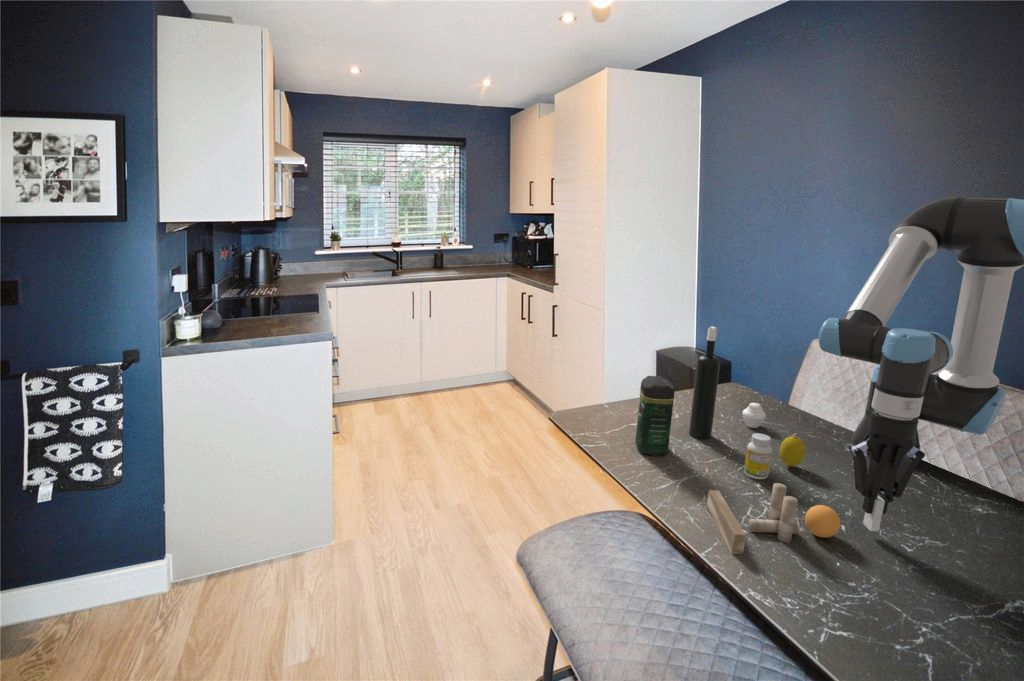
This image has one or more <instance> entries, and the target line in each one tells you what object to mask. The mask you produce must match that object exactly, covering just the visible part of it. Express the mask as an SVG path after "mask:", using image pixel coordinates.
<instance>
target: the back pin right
mask: <svg viewBox="0 0 1024 681" xmlns="http://www.w3.org/2000/svg"><path fill="white" fill-rule="evenodd" d="M787 489H788V487H787V485H786V484H783V483H781V482H780V483H779V482H775V483H773V485H772V491H771V492H772V493H771V498H770V503H769V509H768V515H767V516H768V517H767V520H780V518H781V512H782V506H783V500H784V497H785V496H787Z"/></svg>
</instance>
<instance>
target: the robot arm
mask: <svg viewBox="0 0 1024 681" xmlns="http://www.w3.org/2000/svg"><path fill="white" fill-rule="evenodd" d="M937 251H950V252H958V255H957V263H959V265H961V266H962V267H963V275H962V280H961V286H960V291H959V297H958V302H957V308H956V312H955V318H954V322H953V329H952V335H951V338H950V339H948V337H946V336H945V335H943V334H942V333H940V332H935V331H925V330H921V329H914V328H905V327H903V328H902V327H901V328H892V327H886V324H887V322H888V321H889V320H890V317H891V316H892V314H893V313H894V311H895V310H896V308H897V307H898V304H899V303H900V302H901V300H902V298H903V296H904V295H905V293H906V291H907V290H908V288H909V287H910V286H911V284H912V282H913V281H914V279H915V277H916V276H917V274H918V272H919V270H920V269H921V268H922V266H923V265H924V263H925V261H926V260H928V259H930V258H932V257H933V256H934V255H935V254H936V253H937ZM1022 267H1024V199H1021V198H1020V199H1019V198H1013V197H1009V198H1007V197H1002V198H1001V197H998V198H997V197H961V196H960V197H959V196H958V197H957V196H952V197H950V196H949V197H945V198H940V199H937V200H933V201H931V202H928V203H927V204H925V205H922V206H921V207H919V208H917V209H916V210H914V211H913V212H911V213H910V214H908V215H907V216H906V217H904V218H903V219H902V220H901V221H900V222H899V223H898V224H897V225H896V226H895V228H894V229H893V231H892V232H891V234H890V235H889V238H888V248H887V249H886V250H885V252H884V253H883V255H882V256H881V258H880V259H879V261H878V263H877V265H876V266H875V267H874V269H873V271H872V272H871V274H870V275H869V277H868V278H867V280H866V281H865V283H864V285H863V286H862V288H861V289H860V290H859V292H858V294H857V296H856V297H855V299H854V300H853V302H852V303H851V304H850V306H849V308H848V309H847V311H846V312H845V314H844V316H842V318H840V317H830V318H828V319H826V320H824V322H823V324H822V325H821V327H820V329H819V332H818V345H819V348H820V349H821V350H822V351H823V352H824V353H828V354H832V355H834V356H837V357H841V358H842V357H843V358H848V359H853V360H859V361H862V362H867V363H872V364H875V365H876V366H875V367H874V369H873V372H872V376H871V379H870V385H869V390H868V395H867V401H866V405H865V406H866V407H865V411H864V415H863V417H862V419H861V420H860V422H859V424H858V425H857V427H856V429H855V430H854V431H853V433H852V437H851V443H850V445H849V447H848V449H849V450H850V453H851V454H852V461H853V474H854V488H855V490H856V491H857V492H859V493H860V495H862V496H863V502H862V510H863V512H865V513H864V516H863V520H862V521H863V522H862V524H863V525H864V526H865V527H866V528H867V530H869V531H870V532H879V531H880V526H881V522H882V517H883V515H885V514H887V511H888V507H889V503H892V502H894V500H895V499H894V498H898V499H899V498H901V497H902V496H903V494H904V491H906V490H905V489H906V487H907V485H908V484H909V482H910V479H911V477H912V476H913V473H915V469H916V467H917V466H918V464H919V463H920V462H921V461H922V460H923V459H924V458H925V456H926V453H925V452H924V451H923V450H921V443H920V438H919V432H918V431H919V430H918V426H919V420H921V421H923V422H928V423H932V424H935V425H937V426H942V427H945V428H949V429H953V430H957V431H960V432H961V433H963V432H965V433H970V434H973V435H978V436H979V435H981V436H982V435H984V434H986V433H987V432H989V431H990V429H991V427H993V424H994V422H995V421H996V419H997V417H998V415H999V413H1000V411H1001V409H1002V407H1003V404H1004V402H1005V400H1006V397H1007V396H1006V395H1007V391H1006V390H1005V389H1003V388H1002V387H999V385H1000V379H999V377H998V376H997V375H996V374H995V373H994V367H995V363H996V358H997V353H998V349H999V344H1000V339H1001V335H1002V330H1003V326H1004V322H1005V316H1006V312H1007V307H1008V303H1009V298H1010V293H1011V288H1012V283H1013V279H1014V275H1015V272H1016V271H1018V270H1020V269H1021V268H1022ZM934 373H936V374H934ZM868 454H869V456H868V459H869V465H868V462H867V458H866V457H867V455H868Z"/></svg>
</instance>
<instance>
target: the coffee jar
mask: <svg viewBox="0 0 1024 681" xmlns="http://www.w3.org/2000/svg"><path fill="white" fill-rule="evenodd" d="M675 390H676V389H675V387H674V385H673V384H672V382H671V381H669V380H668V379H666V378H664V376H661V375H660V376H657V375H647V376H645V378H643V379H642V380H641V382H640V388H639V391H640V392H639V402H638V414H637V422H636V423H637V424H636V431H635V433H636V434H635V439H634V440H635V445H636V448H637V449H638V451H639V452H641V453H642V454H646V455H650V456H660V455H666V454H668V452H669V447H670V446H669V445H670V436H671V425H672V416H673V408H674V403H675V402H674V401H675Z"/></svg>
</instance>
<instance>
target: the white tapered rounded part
mask: <svg viewBox="0 0 1024 681" xmlns="http://www.w3.org/2000/svg"><path fill="white" fill-rule="evenodd" d="M741 414H742V417H743V420H744V422H745V425H746V426H747V427H748V428H750V429H758V428H759V427H761V425H762V424H763V422H764V421H765V419H766V417H767V415H766V412H765V411H764V409H763V406H762V405H761V404H760V403H758V402H751V403H749V404H748V406H747V407H746V408H744V409H743V410H742V413H741Z"/></svg>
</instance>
